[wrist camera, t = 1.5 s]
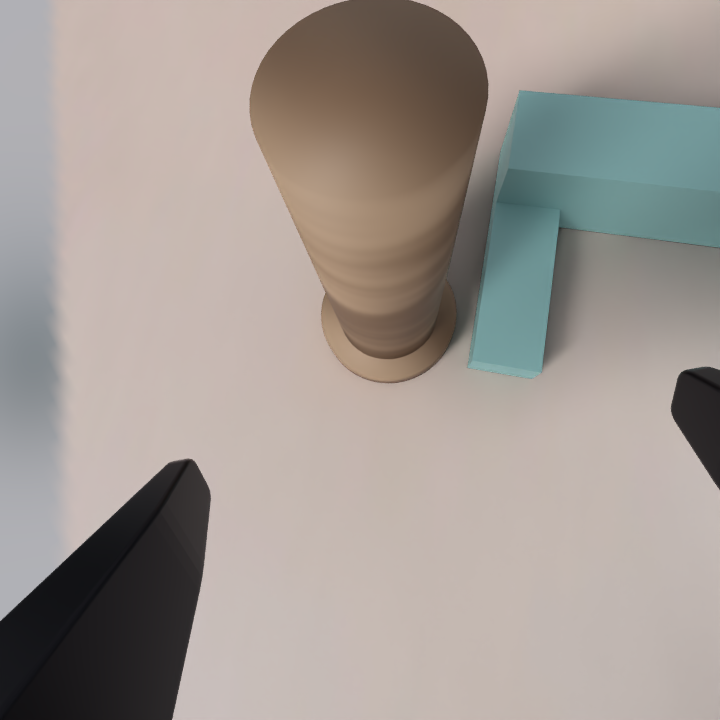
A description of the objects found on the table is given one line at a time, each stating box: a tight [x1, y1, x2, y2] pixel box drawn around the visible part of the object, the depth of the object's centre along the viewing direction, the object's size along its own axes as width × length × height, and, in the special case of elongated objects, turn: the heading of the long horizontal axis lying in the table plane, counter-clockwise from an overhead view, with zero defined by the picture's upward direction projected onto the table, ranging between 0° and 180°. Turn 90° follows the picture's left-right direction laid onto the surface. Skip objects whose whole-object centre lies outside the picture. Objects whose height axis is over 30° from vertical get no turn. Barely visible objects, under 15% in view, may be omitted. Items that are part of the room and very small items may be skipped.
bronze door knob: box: [250, 0, 488, 383], centre depth 15 cm, size 6×6×14 cm
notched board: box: [467, 90, 720, 379], centre depth 19 cm, size 12×16×4 cm
